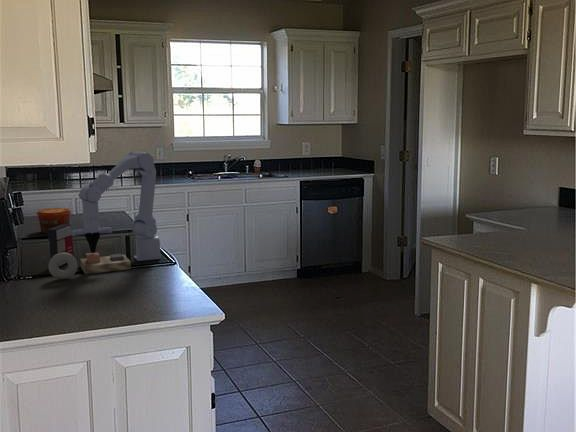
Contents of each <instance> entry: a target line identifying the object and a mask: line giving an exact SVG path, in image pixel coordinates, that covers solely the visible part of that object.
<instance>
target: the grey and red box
mask: <svg viewBox="0 0 576 432" xmlns="http://www.w3.org/2000/svg"><path fill="white" fill-rule="evenodd" d="M71 230H72V225H71V224H69V225H66V224H62V225H59V226H56V227H53V228H50V229H48V230H47V233H48V234H47V240H48V241H49V253H50V254H49V255H50V259H51V258H52V257H53V256H54V255H56V254H58V253H62V252H64V253H69V254H71V255H73V256H74V249H73V236H72V231H71ZM66 264H67V263H66V262H60V263H59V265H58V267H59V268H60V267H61V266H64V265H66Z"/></svg>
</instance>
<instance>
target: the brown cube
mask: <svg viewBox="0 0 576 432" xmlns="http://www.w3.org/2000/svg"><path fill="white" fill-rule="evenodd" d="M85 257H86V261H87V264H88V263H98V262H100V257H101V255H100V253H99V252H98V251H97V252H96V251H95V253H91V252H89V253H88V252H87V253H85Z"/></svg>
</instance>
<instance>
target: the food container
mask: <svg viewBox="0 0 576 432" xmlns="http://www.w3.org/2000/svg"><path fill="white" fill-rule="evenodd" d="M71 215H72V211H71V210H70V209H69V208H61V207H56V208H55V207H54V208H44V209H41V210H38V211H37V212H36V216H37V218H38V221H39V227H40V232H41V234H43V233H44V234H43V235H45V234H46V235H48V233H47V230H48V229H50V228H53V227H56V226H59V225H62V224H66V225H70V218H71Z"/></svg>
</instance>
